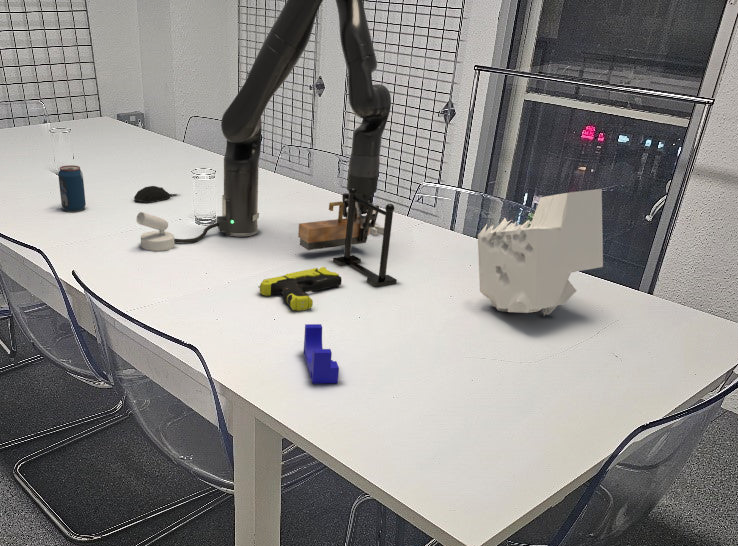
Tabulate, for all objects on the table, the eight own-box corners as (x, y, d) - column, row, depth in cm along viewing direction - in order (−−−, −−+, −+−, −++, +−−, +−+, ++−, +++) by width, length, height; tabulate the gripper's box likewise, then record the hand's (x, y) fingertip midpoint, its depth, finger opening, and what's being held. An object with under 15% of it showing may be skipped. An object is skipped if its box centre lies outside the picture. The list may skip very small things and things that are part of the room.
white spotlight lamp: (127, 209, 188) (158, 202, 194) (130, 246, 193) (159, 238, 199) (149, 216, 183) (180, 209, 189) (151, 254, 188) (181, 245, 194)
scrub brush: (307, 250, 186) (310, 208, 180) (297, 244, 190) (300, 203, 184) (367, 243, 193) (372, 202, 187) (357, 237, 197) (361, 197, 191)
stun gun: (364, 285, 165) (323, 265, 176) (293, 301, 156) (254, 278, 167) (362, 298, 167) (322, 277, 177) (292, 314, 157) (254, 291, 168)
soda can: (89, 206, 223) (85, 165, 217) (82, 213, 217) (77, 171, 211) (66, 205, 224) (62, 164, 218) (58, 211, 218) (54, 169, 212)
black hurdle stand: (375, 287, 172) (383, 207, 163) (332, 261, 187) (338, 186, 177) (396, 283, 175) (406, 204, 165) (353, 258, 189) (359, 184, 179)
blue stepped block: (337, 383, 132) (340, 352, 129) (312, 383, 131) (314, 353, 128) (326, 353, 142) (329, 324, 139) (303, 353, 142) (305, 324, 139)
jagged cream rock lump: (533, 326, 148) (528, 197, 143) (477, 323, 162) (470, 205, 157) (604, 311, 157) (602, 188, 151) (545, 309, 171) (541, 197, 165)
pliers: (364, 213, 219) (395, 227, 208) (364, 218, 220) (394, 232, 209) (336, 216, 215) (366, 231, 204) (335, 222, 216) (365, 237, 204)
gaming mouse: (181, 197, 235) (181, 184, 233) (141, 204, 227) (140, 191, 225) (171, 193, 239) (170, 180, 237) (130, 199, 231) (129, 186, 229)
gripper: (335, 166, 189) (329, 232, 198) (366, 180, 178) (359, 249, 187) (360, 164, 192) (353, 229, 201) (392, 177, 181) (383, 245, 190)
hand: (356, 238), depth 194 cm, fingers closed on scrub brush, 5 cm apart
